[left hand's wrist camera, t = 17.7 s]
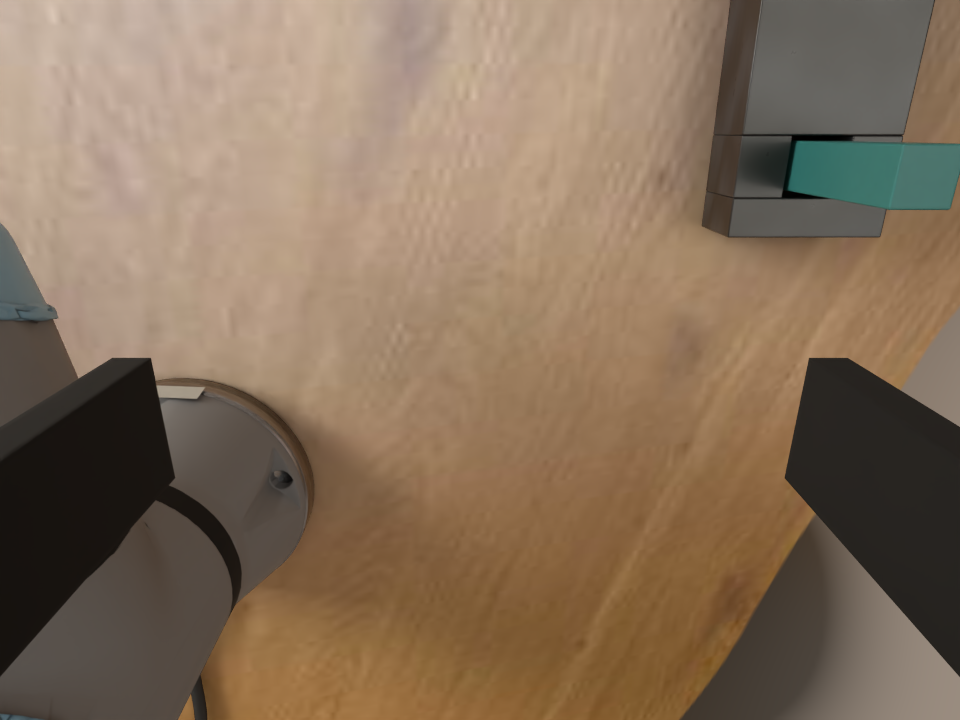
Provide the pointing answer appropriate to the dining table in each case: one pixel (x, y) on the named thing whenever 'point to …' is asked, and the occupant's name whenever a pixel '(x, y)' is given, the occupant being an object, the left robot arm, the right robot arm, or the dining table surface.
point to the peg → (876, 173)
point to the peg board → (807, 106)
